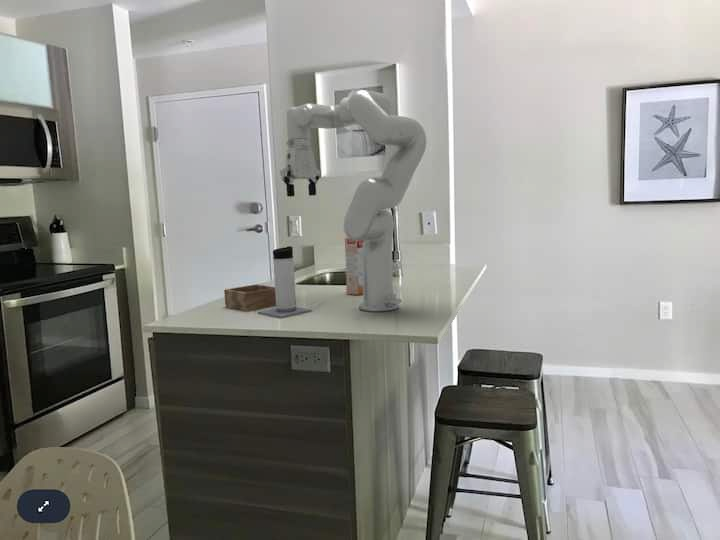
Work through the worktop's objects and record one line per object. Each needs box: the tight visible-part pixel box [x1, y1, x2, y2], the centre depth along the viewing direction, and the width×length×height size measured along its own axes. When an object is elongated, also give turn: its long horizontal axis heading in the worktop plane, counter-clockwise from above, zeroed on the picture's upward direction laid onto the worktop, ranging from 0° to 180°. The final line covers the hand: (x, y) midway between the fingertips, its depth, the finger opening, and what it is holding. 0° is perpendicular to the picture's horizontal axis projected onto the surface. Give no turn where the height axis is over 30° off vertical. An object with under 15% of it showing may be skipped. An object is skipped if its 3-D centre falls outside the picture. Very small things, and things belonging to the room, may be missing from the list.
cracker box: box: [344, 236, 364, 296], centre depth 212 cm, size 14×6×21 cm, turn 146°
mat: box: [257, 306, 313, 319], centre depth 183 cm, size 12×12×1 cm
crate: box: [224, 283, 276, 313], centre depth 195 cm, size 13×13×6 cm
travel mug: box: [272, 246, 297, 312], centre depth 181 cm, size 6×7×20 cm
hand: (301, 195), depth 198 cm, fingers open, 9 cm apart
